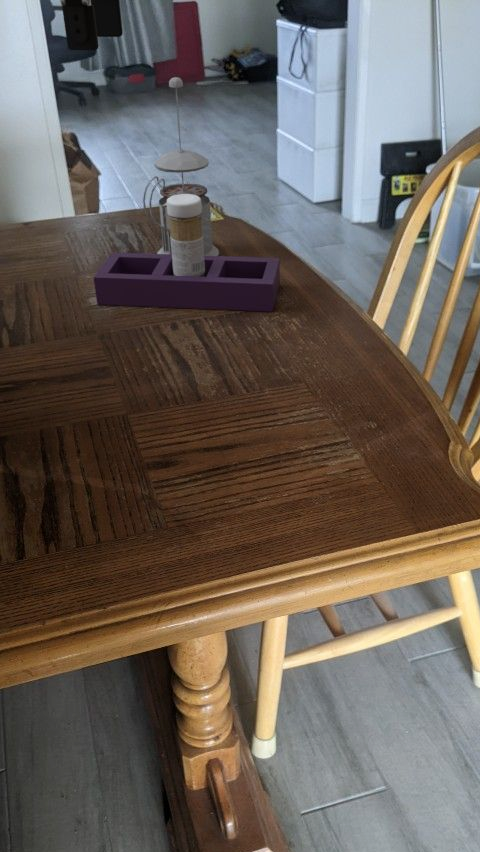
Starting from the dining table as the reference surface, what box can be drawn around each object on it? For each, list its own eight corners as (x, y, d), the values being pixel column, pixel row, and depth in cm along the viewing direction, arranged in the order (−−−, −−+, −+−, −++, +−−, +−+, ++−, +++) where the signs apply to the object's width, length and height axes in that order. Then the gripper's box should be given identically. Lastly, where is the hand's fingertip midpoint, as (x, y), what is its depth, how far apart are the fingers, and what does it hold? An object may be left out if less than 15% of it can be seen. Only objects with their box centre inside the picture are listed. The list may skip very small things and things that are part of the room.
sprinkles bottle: (197, 285, 113) (191, 190, 105) (212, 296, 110) (207, 199, 101) (168, 292, 111) (160, 196, 103) (183, 304, 108) (175, 205, 100)
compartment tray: (273, 312, 105) (272, 283, 103) (97, 304, 108) (93, 277, 105) (279, 284, 113) (279, 258, 110) (115, 278, 115) (111, 252, 113)
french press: (231, 254, 122) (225, 77, 107) (170, 273, 116) (154, 89, 101) (195, 237, 128) (184, 68, 113) (135, 254, 122) (114, 78, 107)
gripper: (63, -153, 83) (86, 31, 93) (1, -163, 69) (36, 55, 79) (132, -154, 82) (148, 32, 92) (83, -164, 68) (108, 56, 79)
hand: (96, 42), depth 86 cm, fingers open, 9 cm apart
